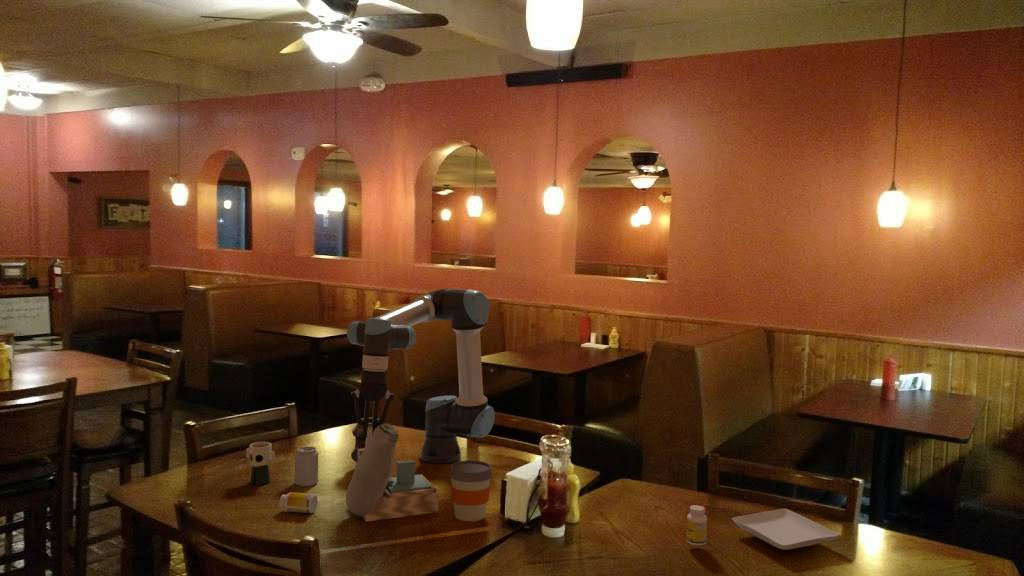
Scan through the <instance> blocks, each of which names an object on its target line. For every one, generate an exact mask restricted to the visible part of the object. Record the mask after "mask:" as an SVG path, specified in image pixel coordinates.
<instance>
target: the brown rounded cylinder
mask: <svg viewBox="0 0 1024 576" xmlns="http://www.w3.org/2000/svg"><path fill="white" fill-rule="evenodd" d="M398 441H399V432H398V430H397V429H396V428H395V427H394V426H392V425H390V424H389V423H383V424H381V425H379V426H377V427H376V428H375V430H374V432H373V435H372V438H371V440H370V442H369V444H368V445H367V447H366V448H365V449H364V451H363V452H362V454H361V455H360V457H359V459H358V461H357V462H356V465H355V467H354V469H355V470H353V473H352V475H351V479H350V482H349V485H348V488H347V490H346V494H345V504H346V508H347V509H348V510H349V512H350V513H352V514H354V515H355V516H358V517H362V516H365V515H366V514H369V513H371V512H372V510H373V509H374V507H375V505H376V503H377V502H378V500H379V499H381V498H382V496H383V493H384V491H385V488H386V485H387V483H388V481H389V478H391V474H392V472H393V469H394V464H395V463H394V462H395V451H396V445H397V443H398Z"/></svg>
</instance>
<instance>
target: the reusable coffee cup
mask: <svg viewBox="0 0 1024 576" xmlns="http://www.w3.org/2000/svg"><path fill="white" fill-rule="evenodd" d="M492 476H493V472H492V466H491V464H490V463H488V462H485V461H480V460H471V459H470V460H458V461H456V462H453V463H451V466H450V471H449V478H450V481H451V483H450V485H449V486H450V494H451V501H452V502H453V509H454V510H453V511H454V518H456V519H458V520H459V521H462V522H478V521H481V520H483V519H485V517H486V511H487V505H488V502H489V500H490V494H491V493H490V492H491V487H492V486H491V485H492V484H491V479H492Z"/></svg>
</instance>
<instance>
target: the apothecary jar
mask: <svg viewBox="0 0 1024 576" xmlns="http://www.w3.org/2000/svg"><path fill="white" fill-rule="evenodd" d="M361 419H362V421H364V417H363V418H362V417H361ZM372 419H373V417H369V419H368V426H372ZM377 421H379V418H378V417H377ZM351 433H352V435H353V437H354V438H355V444H354V449H352V451H351V454H350V456H351V459H352V460H353V461H354V462H356V463H357V461H358V449H362V448H365V445H366V438H363V426H361V425H359V424H358V422H357V421H356V425H355V426H354V427H352V431H351ZM354 470H355V468H354ZM354 470H353V471H354Z"/></svg>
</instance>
